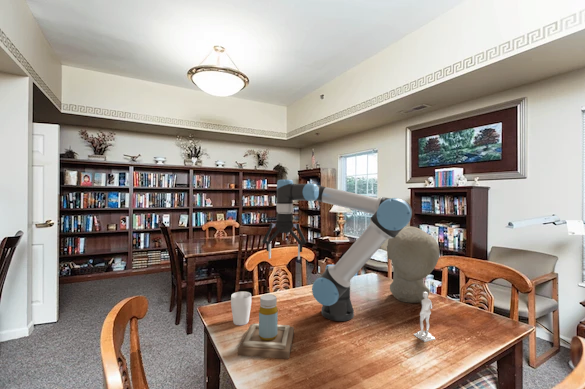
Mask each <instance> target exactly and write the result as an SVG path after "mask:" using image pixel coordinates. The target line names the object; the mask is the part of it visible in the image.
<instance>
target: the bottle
mask: <svg viewBox="0 0 585 389" xmlns="http://www.w3.org/2000/svg"><path fill="white" fill-rule="evenodd" d="M259 298H260V302H259V309H258V324H259V337H260V338H261V339H262V340H264V341H271V340H274V339H275V338H276V337H277V325H279V324H278V318H279V317H278V315H279V313H278V310H279V309H278V306H277V301H278V300H277V298H278V297H277V295H275V294H270V293H269V294H267V293H266V294H263V295H261V296H260V297H259Z"/></svg>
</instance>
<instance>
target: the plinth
mask: <svg viewBox="0 0 585 389" xmlns="http://www.w3.org/2000/svg"><path fill="white" fill-rule="evenodd" d="M294 327H295V326H290V325H288V324H277V337H276V338H275V339H274V340H271V341H264V340H262V339H261V338H260V337H259V323H254V322H253V323H252V324H251V323H250V325H249V326H248V328H247V331H246V332H245V334H244V336H243V338H242V339H241V342H240V344H239V345H238V347H237V356H241V357H256V358H258V357H259V358H271V359H287V360H288V359H290V355H291V349H292V344H293V338H294V333H295V332H294V331H295V329H294Z"/></svg>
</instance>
